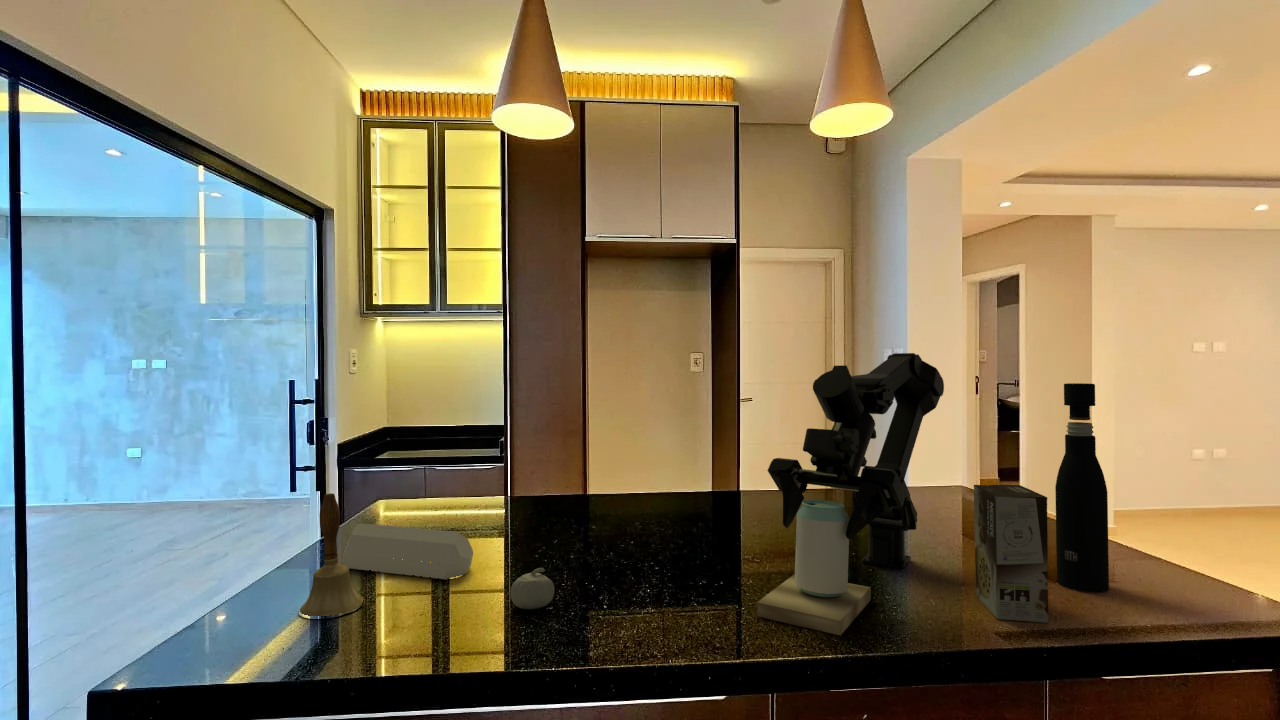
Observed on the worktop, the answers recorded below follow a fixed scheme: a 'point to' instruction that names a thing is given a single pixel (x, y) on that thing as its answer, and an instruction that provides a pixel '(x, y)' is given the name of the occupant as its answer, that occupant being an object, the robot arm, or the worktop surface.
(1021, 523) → the coffee box
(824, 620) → the beige wooden slab
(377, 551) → the crystal
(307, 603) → the hand bell
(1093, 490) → the black bottle
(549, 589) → the grey pumpkin
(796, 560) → the can
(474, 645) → the worktop surface
